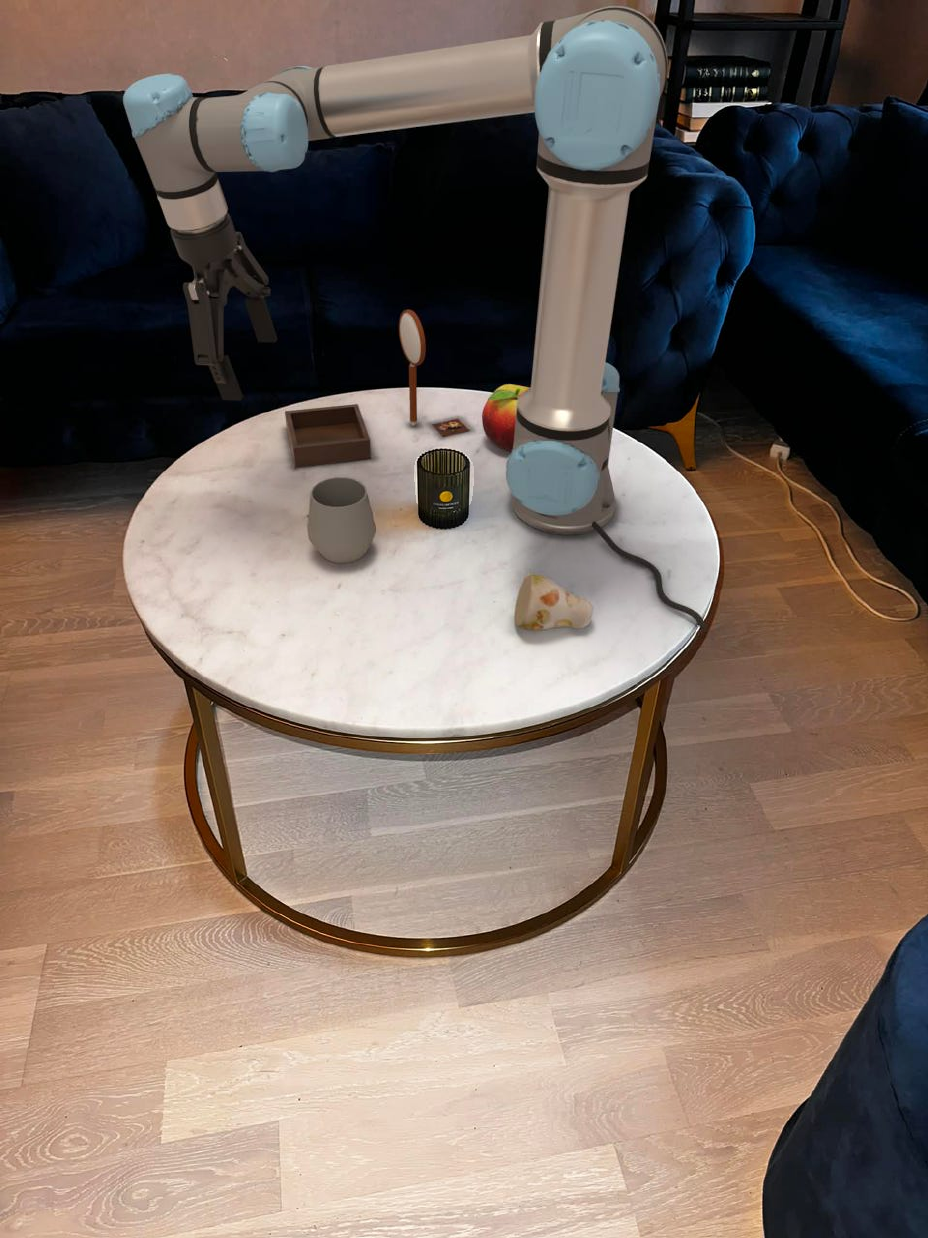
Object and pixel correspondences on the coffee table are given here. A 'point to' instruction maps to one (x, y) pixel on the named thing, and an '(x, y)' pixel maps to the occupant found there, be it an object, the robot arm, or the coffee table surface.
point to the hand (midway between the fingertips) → (251, 368)
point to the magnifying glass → (412, 353)
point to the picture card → (450, 427)
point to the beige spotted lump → (549, 606)
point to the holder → (327, 435)
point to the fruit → (502, 415)
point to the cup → (340, 519)
